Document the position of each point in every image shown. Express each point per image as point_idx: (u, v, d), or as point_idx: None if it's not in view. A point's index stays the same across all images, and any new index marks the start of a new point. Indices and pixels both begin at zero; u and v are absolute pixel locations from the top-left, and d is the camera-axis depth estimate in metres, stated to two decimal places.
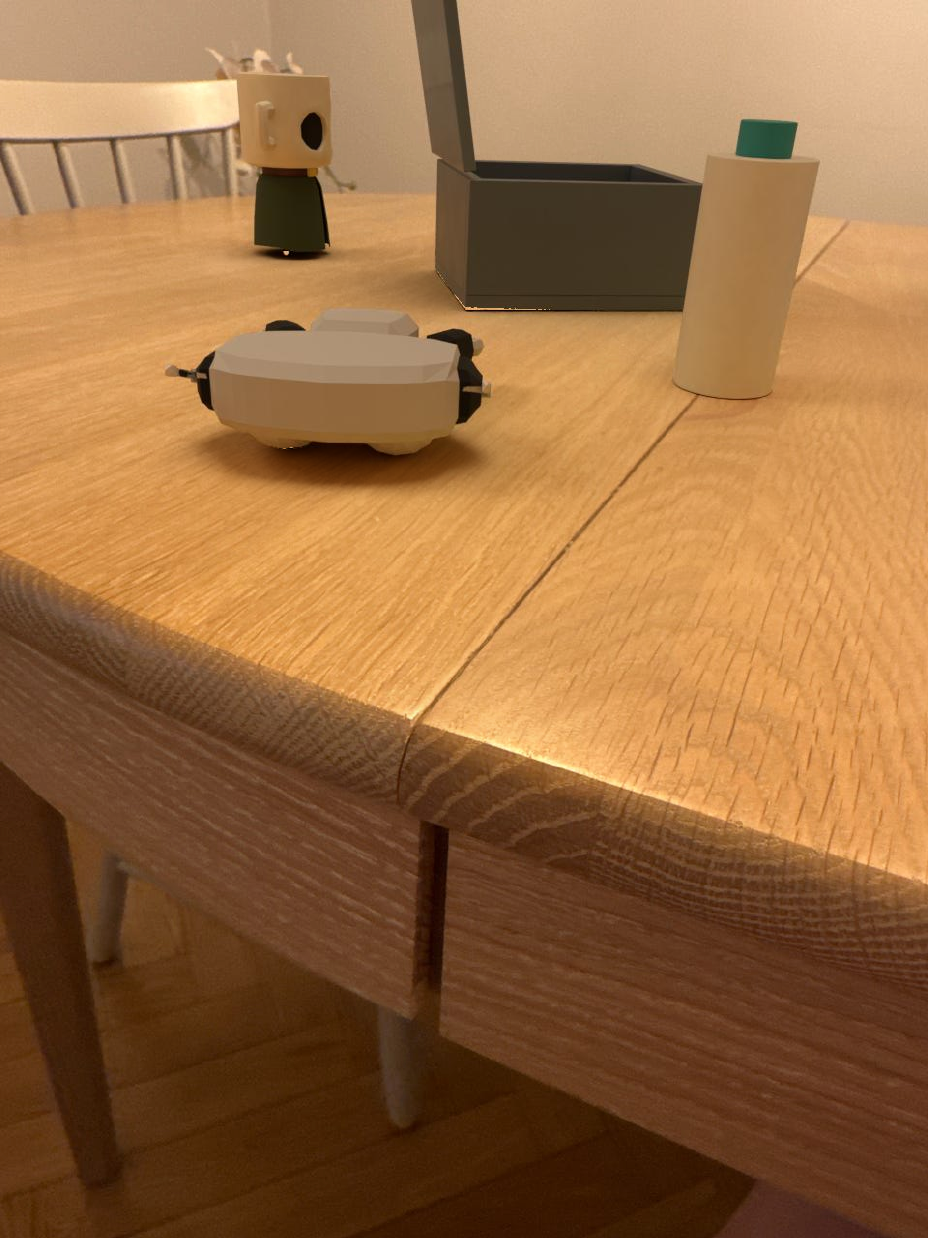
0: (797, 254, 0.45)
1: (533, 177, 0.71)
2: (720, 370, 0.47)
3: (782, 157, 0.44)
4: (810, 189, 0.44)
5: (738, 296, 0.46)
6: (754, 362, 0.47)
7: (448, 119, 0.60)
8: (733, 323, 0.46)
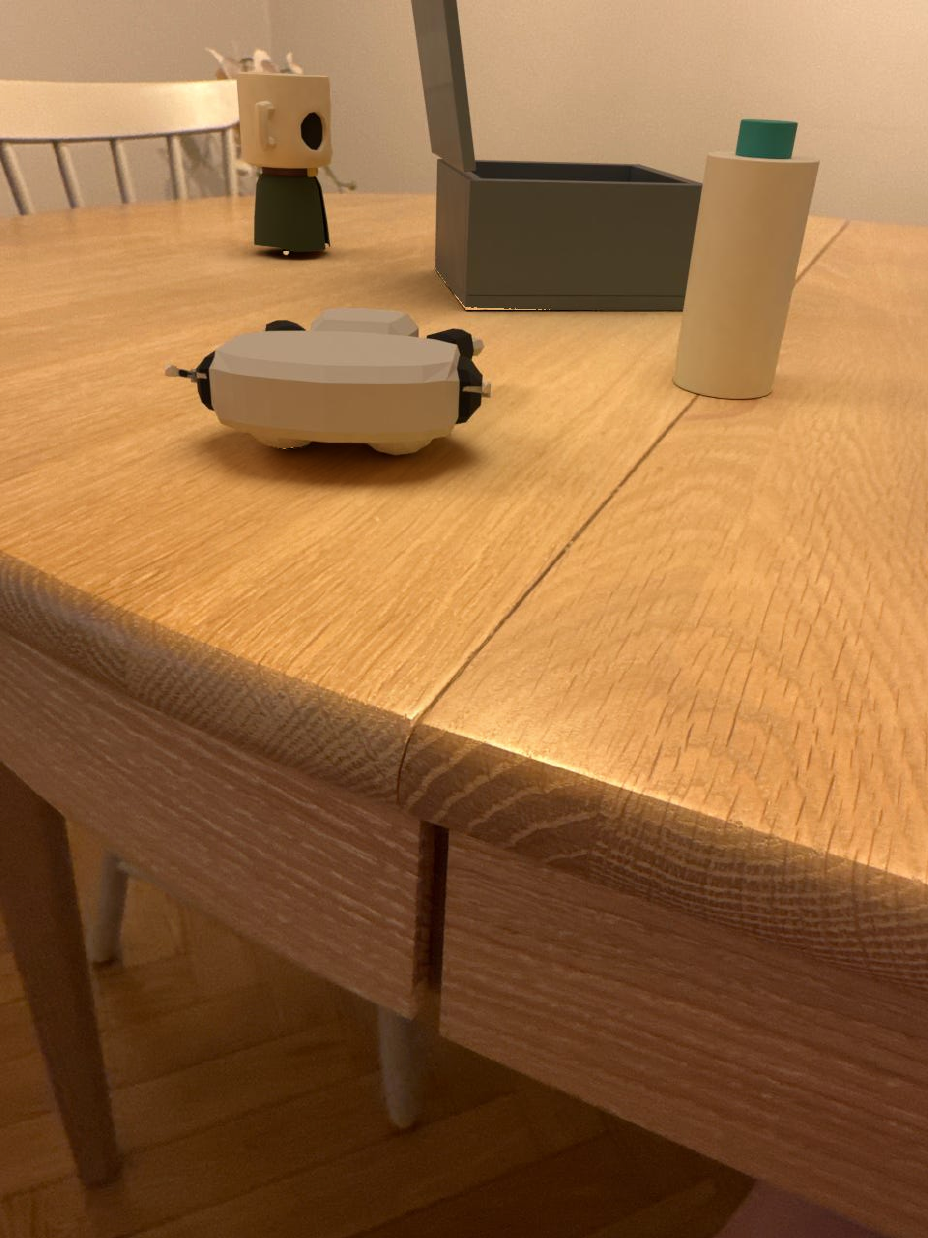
0: (797, 254, 0.45)
1: (533, 177, 0.71)
2: (720, 370, 0.47)
3: (782, 157, 0.44)
4: (810, 189, 0.44)
5: (738, 296, 0.46)
6: (754, 362, 0.47)
7: (448, 119, 0.60)
8: (733, 323, 0.46)
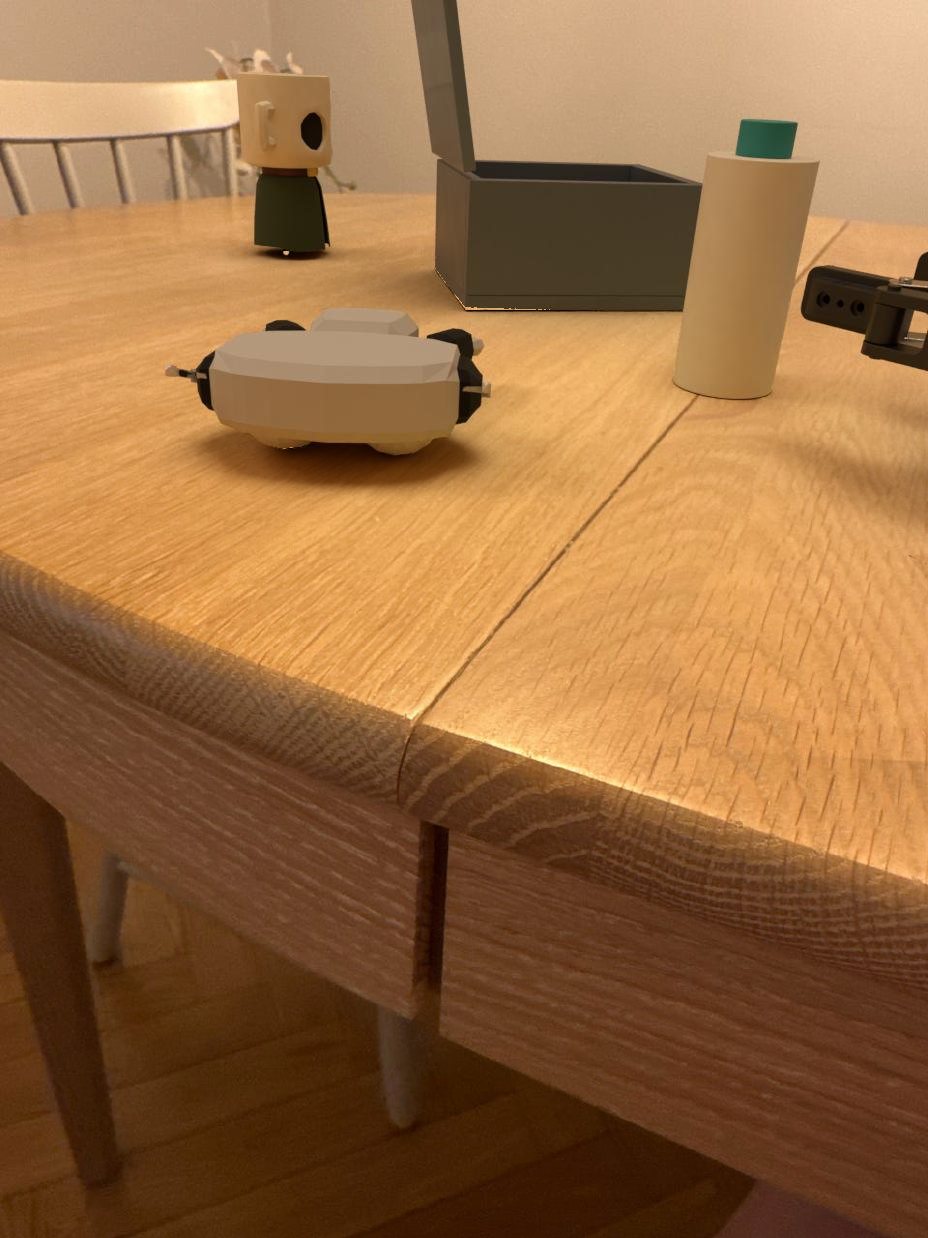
0: (797, 254, 0.45)
1: (533, 177, 0.71)
2: (720, 370, 0.47)
3: (782, 157, 0.44)
4: (810, 189, 0.44)
5: (738, 296, 0.46)
6: (754, 362, 0.47)
7: (448, 119, 0.60)
8: (733, 323, 0.46)
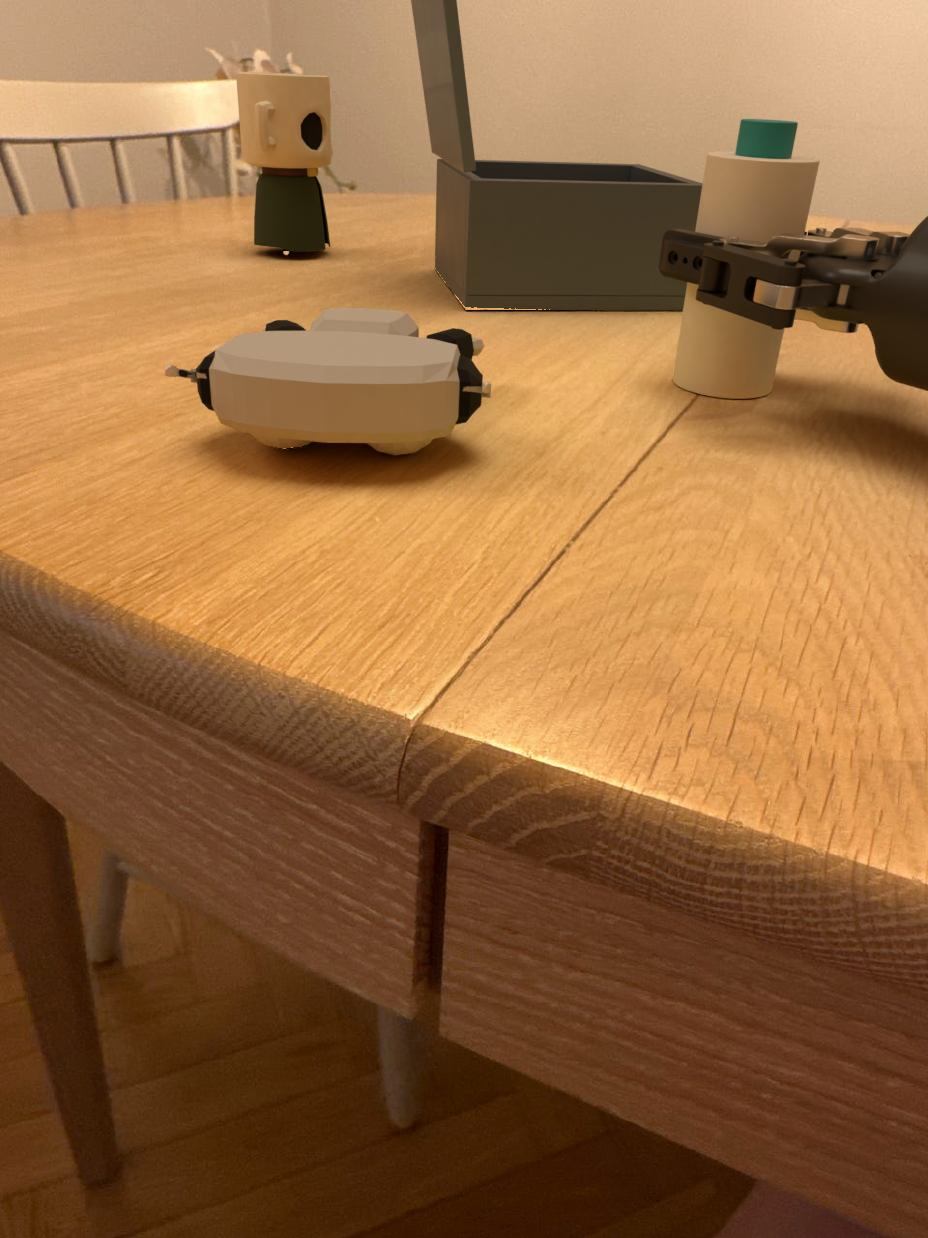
0: (797, 254, 0.45)
1: (533, 177, 0.71)
2: (720, 370, 0.47)
3: (782, 157, 0.44)
4: (810, 189, 0.44)
5: None
6: (754, 362, 0.47)
7: (448, 119, 0.60)
8: (733, 322, 0.46)
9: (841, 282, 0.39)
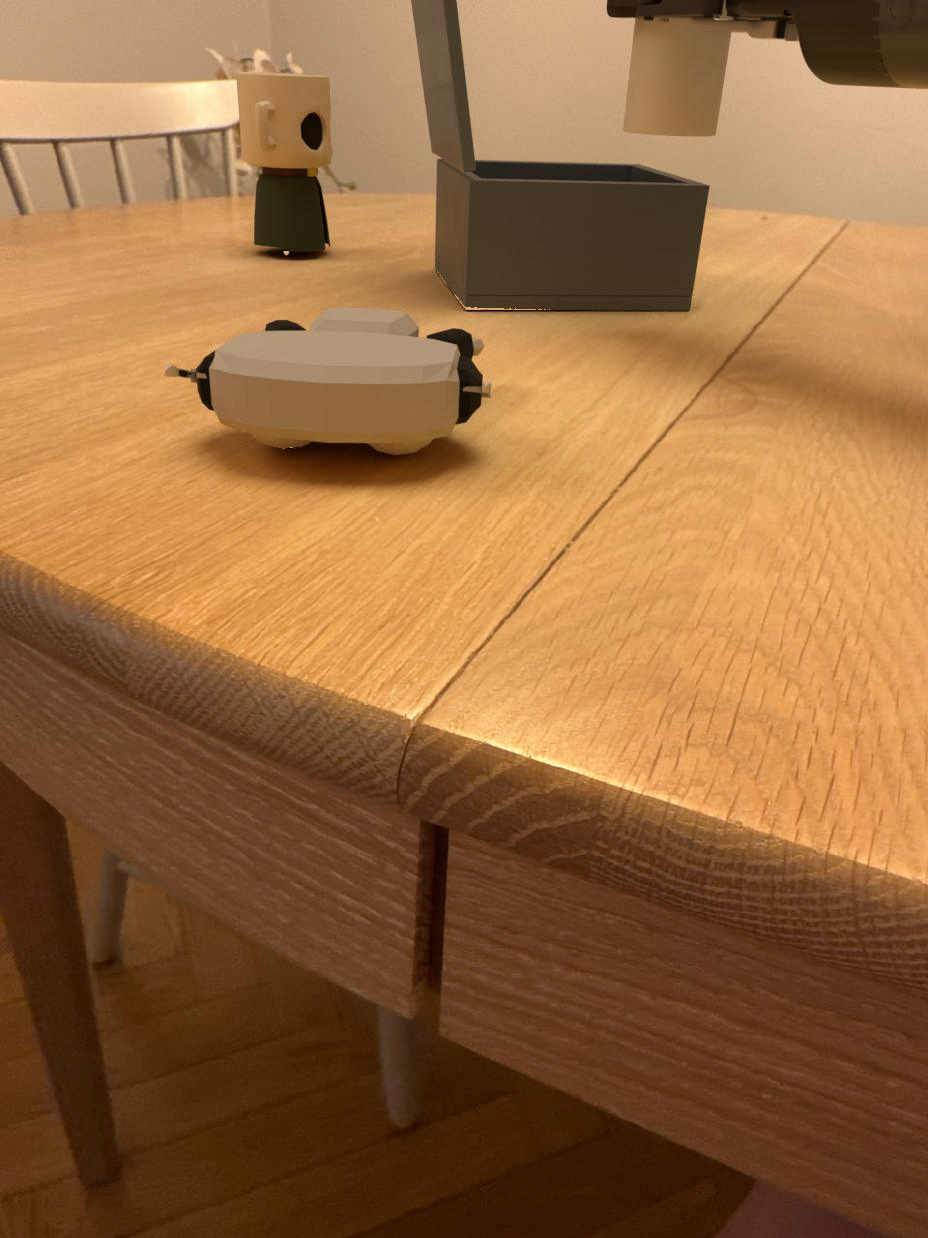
0: None
1: (533, 177, 0.71)
2: (664, 106, 0.50)
3: None
4: None
5: (679, 26, 0.49)
6: (696, 97, 0.50)
7: (448, 119, 0.60)
8: (675, 54, 0.49)
9: None
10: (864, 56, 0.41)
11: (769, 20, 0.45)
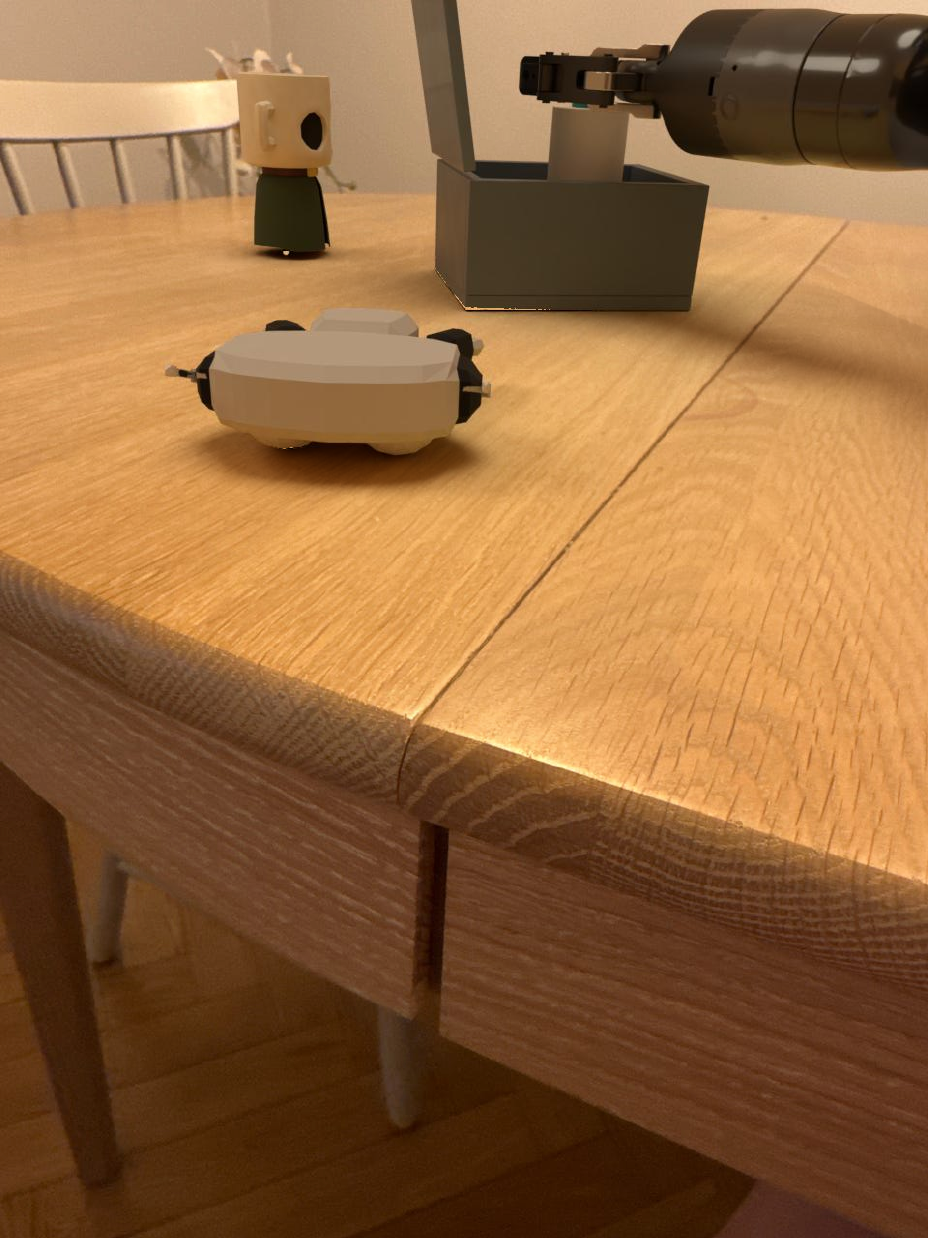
0: (618, 177, 0.64)
1: (533, 177, 0.71)
2: None
3: None
4: (622, 130, 0.62)
5: None
6: None
7: (448, 119, 0.60)
8: None
9: (642, 71, 0.54)
10: (710, 139, 0.53)
11: (646, 105, 0.57)
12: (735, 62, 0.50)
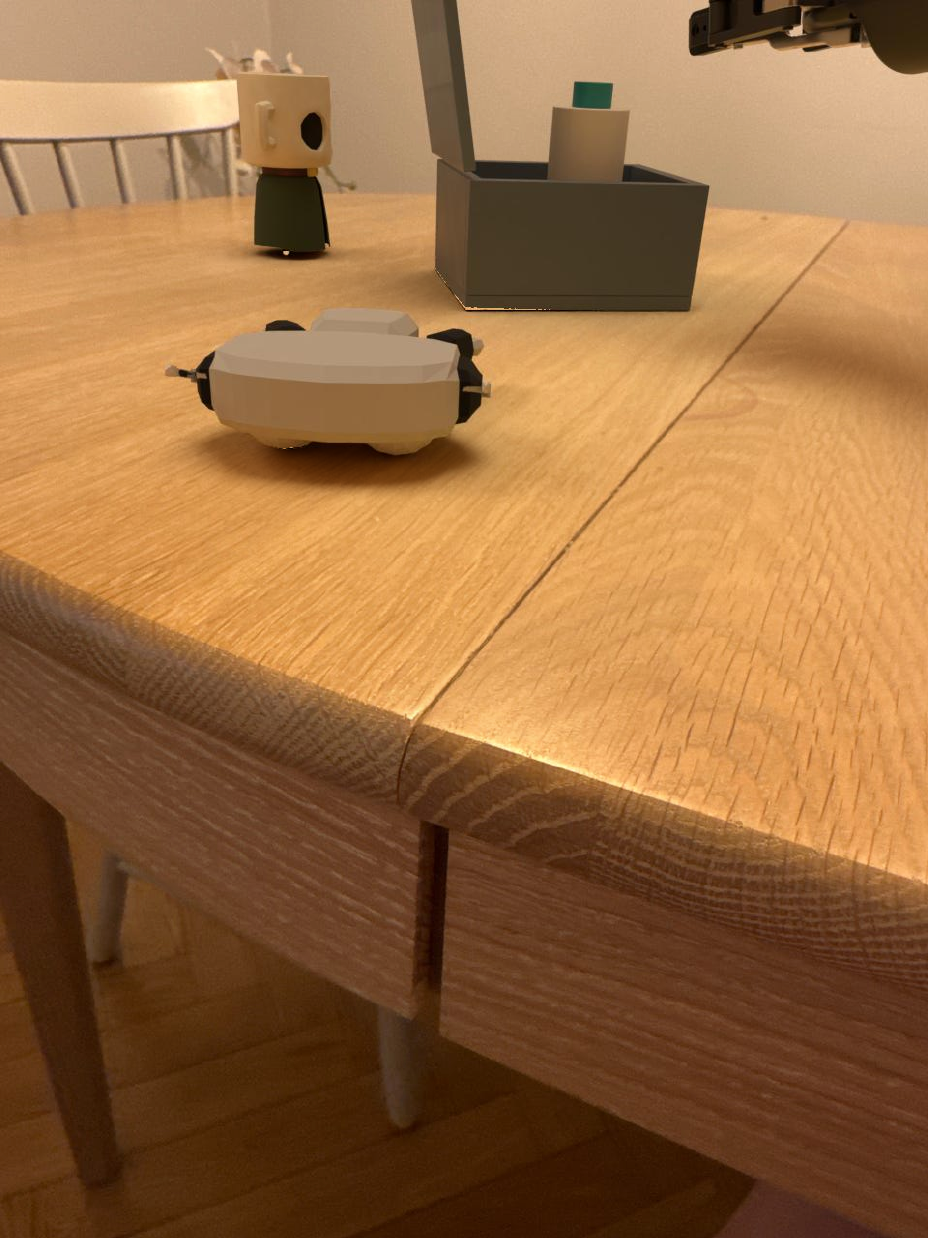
0: (618, 177, 0.64)
1: (533, 177, 0.71)
2: None
3: (602, 107, 0.62)
4: (622, 130, 0.62)
5: None
6: None
7: (448, 119, 0.60)
8: None
9: None
10: (927, 38, 0.43)
11: (842, 28, 0.48)
12: None
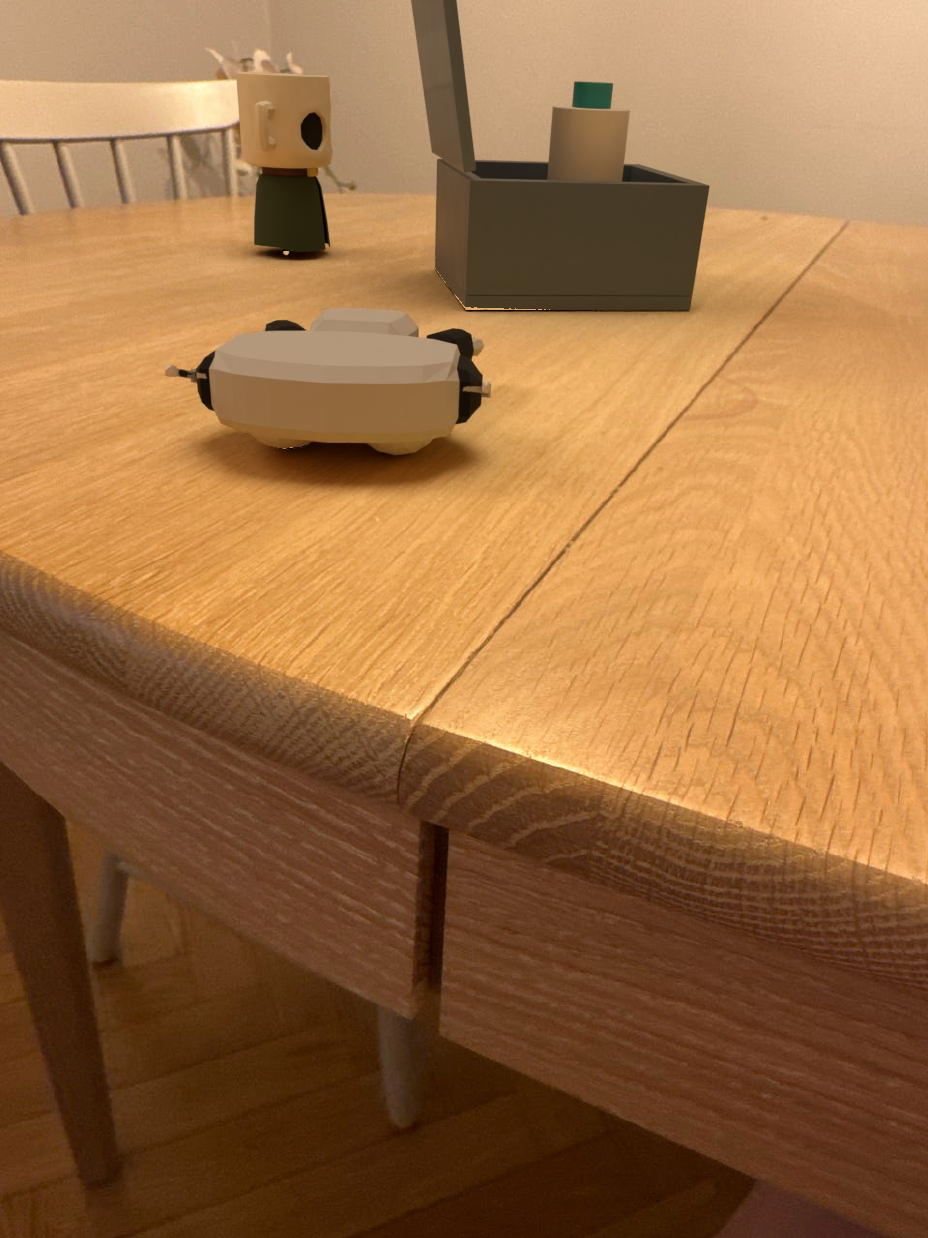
0: (618, 177, 0.64)
1: (533, 177, 0.71)
2: None
3: (602, 107, 0.62)
4: (622, 130, 0.62)
5: None
6: None
7: (448, 119, 0.60)
8: None
9: None
10: None
11: None
12: None
